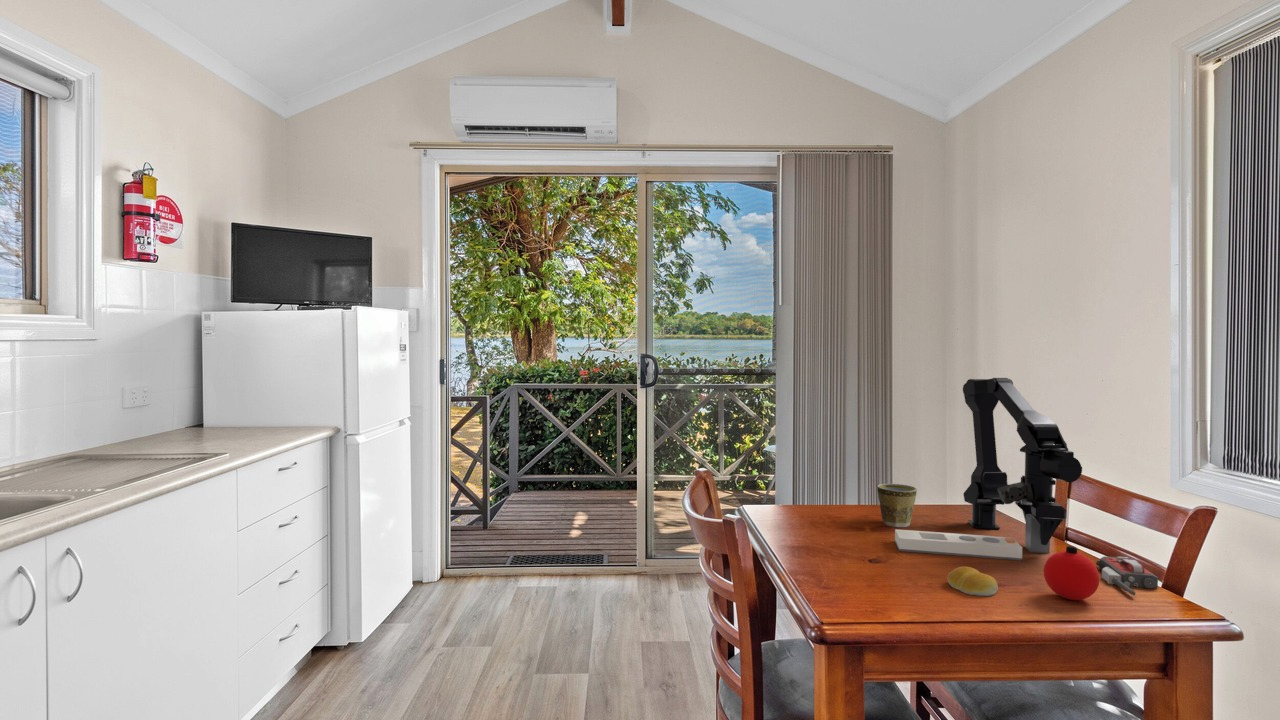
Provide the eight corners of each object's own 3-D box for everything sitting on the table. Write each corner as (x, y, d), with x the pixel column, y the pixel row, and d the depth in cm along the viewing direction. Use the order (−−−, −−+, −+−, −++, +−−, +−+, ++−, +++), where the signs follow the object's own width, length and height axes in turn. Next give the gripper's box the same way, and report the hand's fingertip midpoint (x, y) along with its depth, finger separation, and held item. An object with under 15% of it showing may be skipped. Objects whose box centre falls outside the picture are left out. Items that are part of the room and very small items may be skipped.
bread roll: (976, 600, 128) (976, 579, 128) (940, 584, 136) (940, 564, 136) (1008, 594, 131) (1009, 574, 131) (971, 579, 139) (971, 560, 139)
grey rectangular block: (1025, 546, 162) (1025, 513, 162) (1043, 548, 161) (1044, 514, 161) (1030, 551, 158) (1031, 517, 158) (1049, 553, 157) (1050, 518, 157)
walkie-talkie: (1085, 567, 148) (1126, 600, 129) (1085, 547, 148) (1127, 577, 129) (1130, 571, 146) (1180, 605, 127) (1131, 550, 146) (1180, 582, 127)
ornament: (1108, 609, 123) (1109, 555, 123) (1055, 605, 125) (1056, 552, 124) (1085, 591, 132) (1086, 541, 132) (1035, 588, 134) (1036, 538, 133)
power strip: (895, 541, 165) (895, 526, 165) (1011, 550, 159) (1012, 535, 159) (899, 550, 157) (899, 535, 157) (1022, 560, 151) (1022, 544, 151)
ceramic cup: (922, 529, 177) (922, 491, 176) (884, 528, 177) (884, 491, 177) (903, 516, 190) (904, 481, 189) (868, 516, 190) (868, 481, 190)
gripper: (991, 465, 170) (989, 526, 170) (1012, 479, 152) (1011, 547, 152) (1040, 467, 167) (1038, 530, 168) (1068, 482, 149) (1066, 552, 149)
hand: (1037, 539), depth 159 cm, fingers open, 9 cm apart
